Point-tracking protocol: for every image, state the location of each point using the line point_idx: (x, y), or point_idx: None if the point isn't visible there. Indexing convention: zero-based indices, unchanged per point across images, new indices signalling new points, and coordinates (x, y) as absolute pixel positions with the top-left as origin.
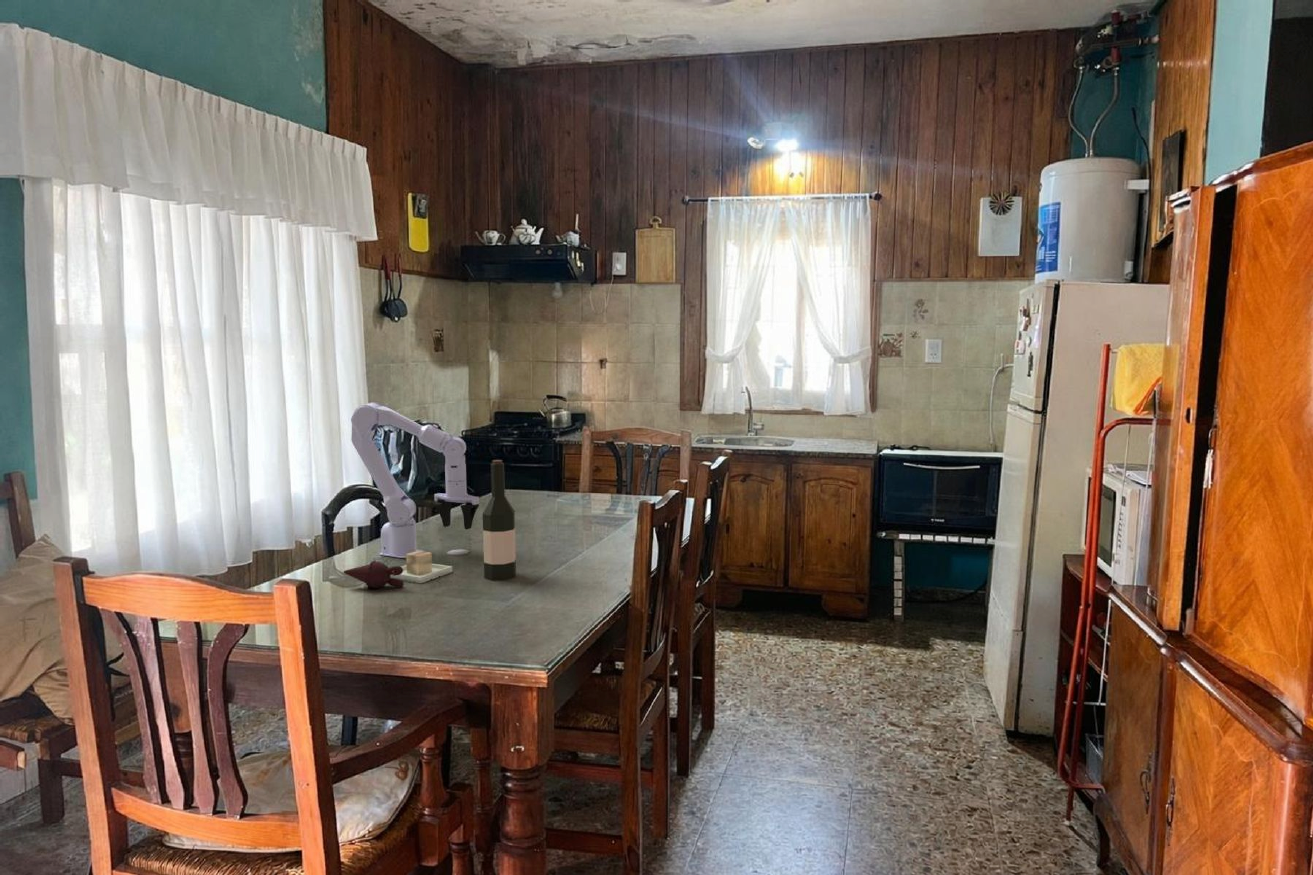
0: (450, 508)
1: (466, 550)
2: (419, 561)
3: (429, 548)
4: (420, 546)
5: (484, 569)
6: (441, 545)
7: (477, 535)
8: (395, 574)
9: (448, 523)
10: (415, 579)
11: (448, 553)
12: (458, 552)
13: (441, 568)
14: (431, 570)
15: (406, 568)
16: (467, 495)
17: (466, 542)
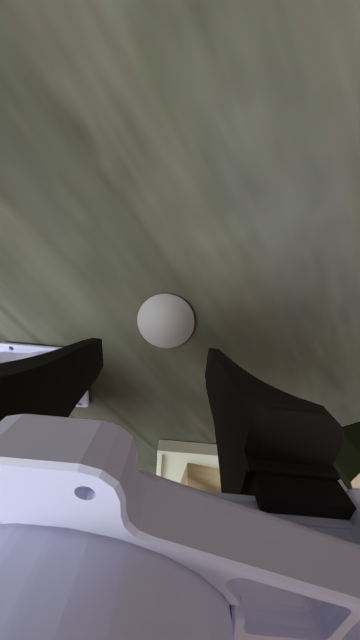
0: (37, 374)
1: (177, 301)
2: None
3: (60, 305)
4: (19, 294)
5: (342, 480)
6: (61, 261)
7: (51, 36)
8: None
9: (96, 352)
10: None
11: (152, 344)
12: (170, 327)
13: None
14: (218, 472)
15: (161, 468)
16: (224, 575)
17: (101, 189)
